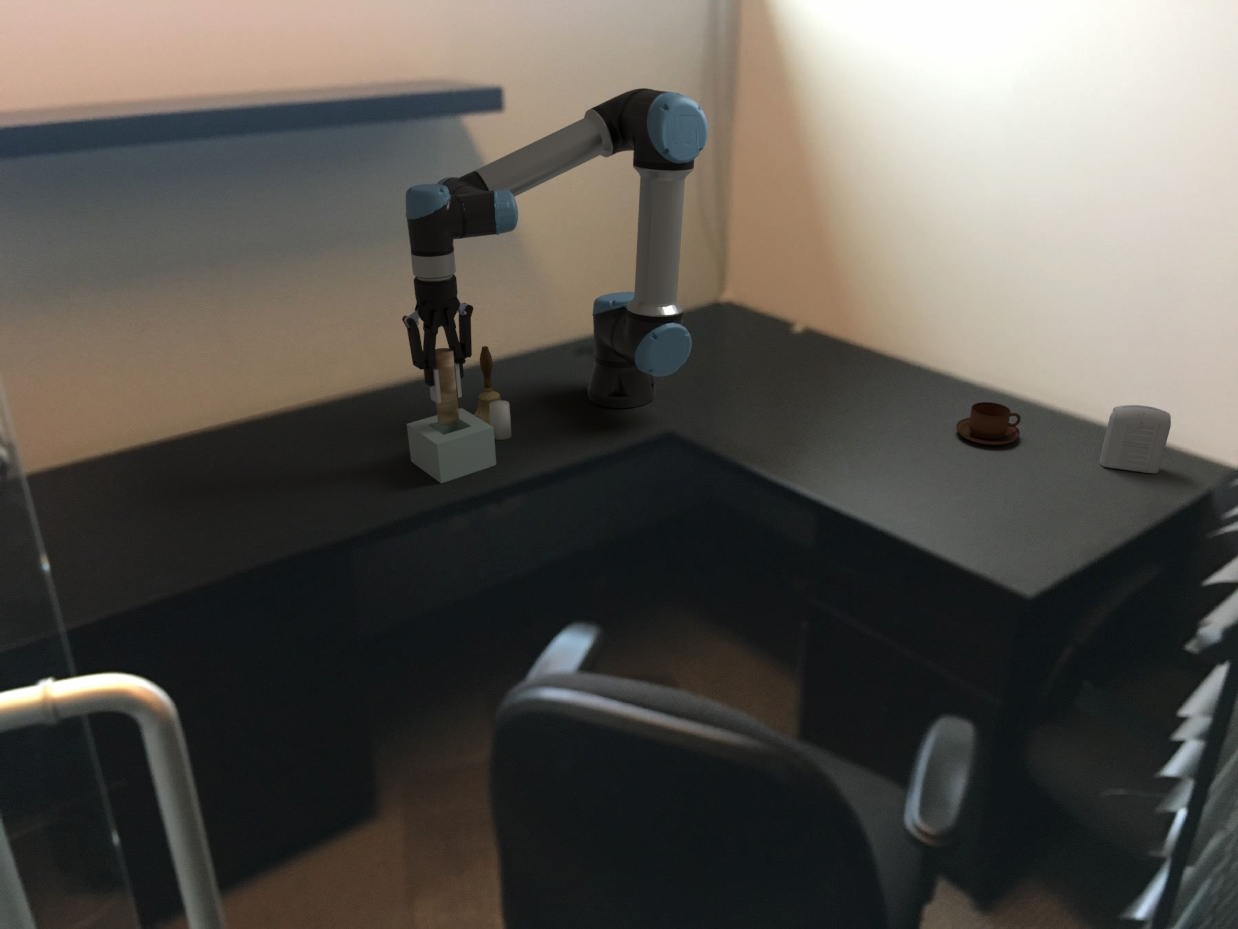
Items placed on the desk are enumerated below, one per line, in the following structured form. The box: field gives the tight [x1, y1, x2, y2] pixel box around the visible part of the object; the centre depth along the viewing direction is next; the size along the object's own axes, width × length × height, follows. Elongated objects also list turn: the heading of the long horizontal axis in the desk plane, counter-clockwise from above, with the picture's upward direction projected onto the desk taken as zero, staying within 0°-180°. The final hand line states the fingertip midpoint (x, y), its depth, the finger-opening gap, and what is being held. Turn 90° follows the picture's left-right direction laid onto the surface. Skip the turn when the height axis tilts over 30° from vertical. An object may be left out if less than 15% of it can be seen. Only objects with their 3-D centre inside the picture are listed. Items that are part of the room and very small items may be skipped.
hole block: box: [406, 407, 497, 484], centre depth 191 cm, size 12×12×8 cm
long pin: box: [434, 347, 459, 426], centre depth 186 cm, size 4×4×14 cm
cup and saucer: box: [955, 401, 1022, 446], centre depth 199 cm, size 12×12×6 cm
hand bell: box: [473, 345, 512, 425], centre depth 209 cm, size 8×8×16 cm
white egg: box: [489, 399, 512, 441], centre depth 203 cm, size 4×4×7 cm
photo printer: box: [1098, 404, 1172, 474], centre depth 184 cm, size 10×4×12 cm, turn 70°
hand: (446, 397), depth 187 cm, fingers closed on long pin, 4 cm apart
